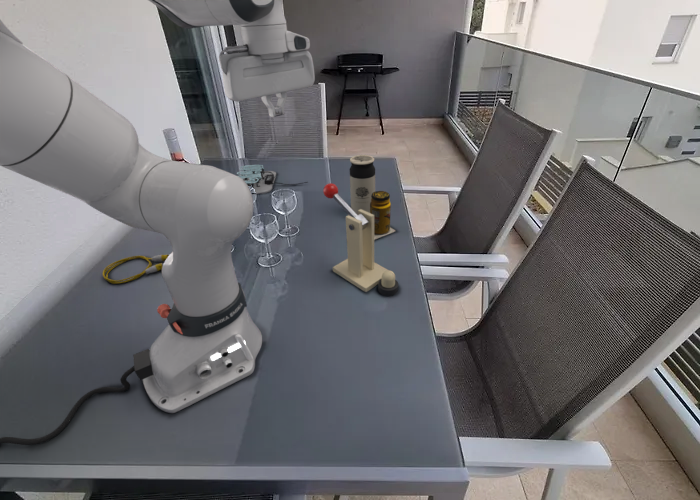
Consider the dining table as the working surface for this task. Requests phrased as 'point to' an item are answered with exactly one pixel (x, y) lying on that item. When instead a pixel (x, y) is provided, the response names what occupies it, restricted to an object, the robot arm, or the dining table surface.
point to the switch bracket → (360, 254)
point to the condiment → (381, 213)
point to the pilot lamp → (388, 284)
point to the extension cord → (147, 270)
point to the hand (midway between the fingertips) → (277, 115)
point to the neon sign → (259, 178)
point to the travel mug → (361, 182)
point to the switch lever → (343, 203)
